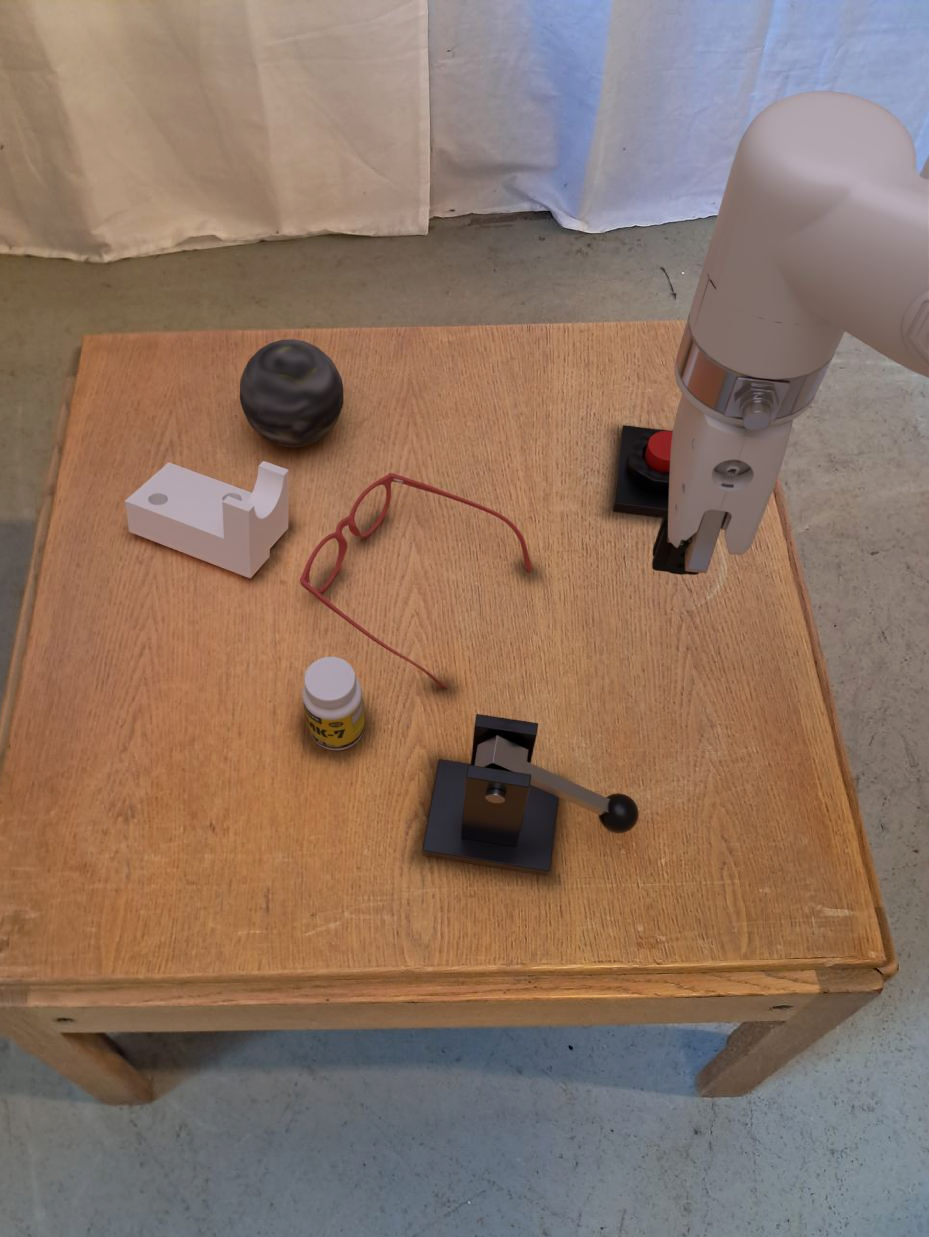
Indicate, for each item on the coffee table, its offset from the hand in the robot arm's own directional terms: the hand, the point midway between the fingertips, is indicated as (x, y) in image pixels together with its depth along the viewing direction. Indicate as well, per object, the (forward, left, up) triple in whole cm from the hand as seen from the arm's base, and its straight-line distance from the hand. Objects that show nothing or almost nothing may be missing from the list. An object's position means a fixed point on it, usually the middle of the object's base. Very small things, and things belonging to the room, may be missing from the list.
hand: (675, 563), depth 69 cm
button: (-1, -26, -17) cm, 31 cm away
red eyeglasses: (+20, -9, -20) cm, 29 cm away
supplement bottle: (+24, +6, -20) cm, 32 cm away
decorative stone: (+35, -26, -20) cm, 48 cm away
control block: (-1, -26, -20) cm, 32 cm away
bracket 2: (+10, +12, -20) cm, 25 cm away
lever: (+6, +12, -13) cm, 19 cm away
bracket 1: (+40, -12, -20) cm, 46 cm away
